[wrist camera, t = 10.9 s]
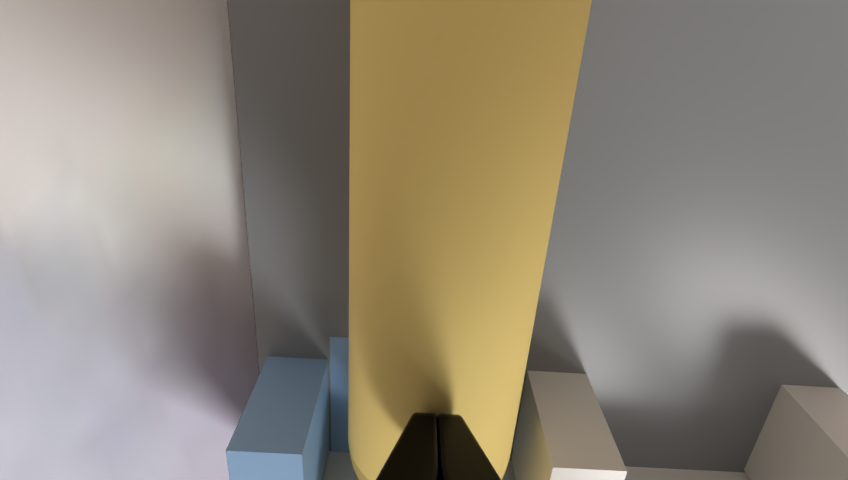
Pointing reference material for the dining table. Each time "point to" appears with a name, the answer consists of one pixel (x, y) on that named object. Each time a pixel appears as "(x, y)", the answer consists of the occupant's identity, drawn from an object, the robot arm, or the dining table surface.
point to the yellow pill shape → (451, 208)
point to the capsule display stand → (591, 247)
